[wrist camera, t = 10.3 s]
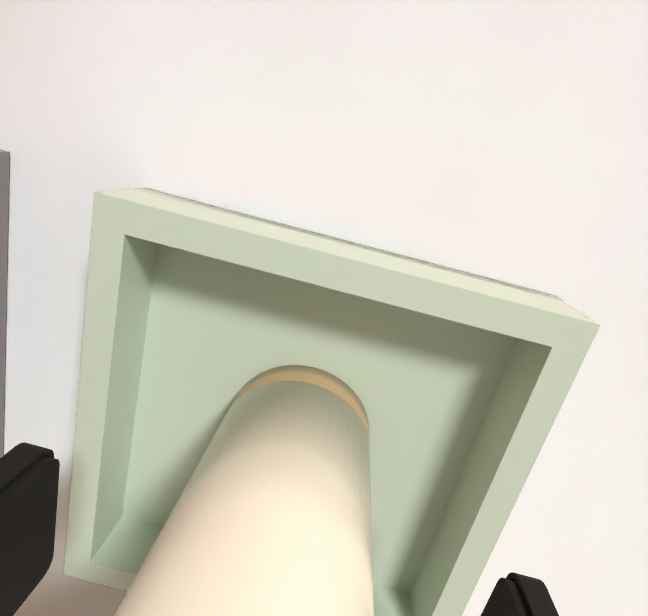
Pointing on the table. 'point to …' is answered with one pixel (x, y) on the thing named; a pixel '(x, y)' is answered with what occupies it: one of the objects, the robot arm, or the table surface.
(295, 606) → the cylinder
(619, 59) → the table surface
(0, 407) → the socket block
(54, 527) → the robot arm
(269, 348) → the parts tray
